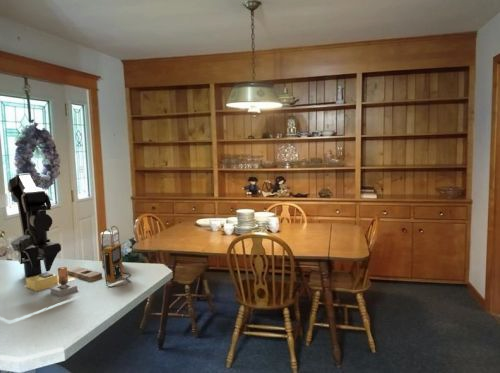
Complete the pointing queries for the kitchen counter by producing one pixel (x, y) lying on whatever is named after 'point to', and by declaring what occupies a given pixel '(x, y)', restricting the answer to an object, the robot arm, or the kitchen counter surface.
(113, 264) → the multimeter
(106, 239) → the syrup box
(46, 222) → the robot arm
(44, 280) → the block
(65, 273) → the awl
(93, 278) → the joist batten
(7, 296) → the kitchen counter surface
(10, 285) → the kitchen counter surface
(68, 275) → the subfloor panel
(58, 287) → the awl holder
